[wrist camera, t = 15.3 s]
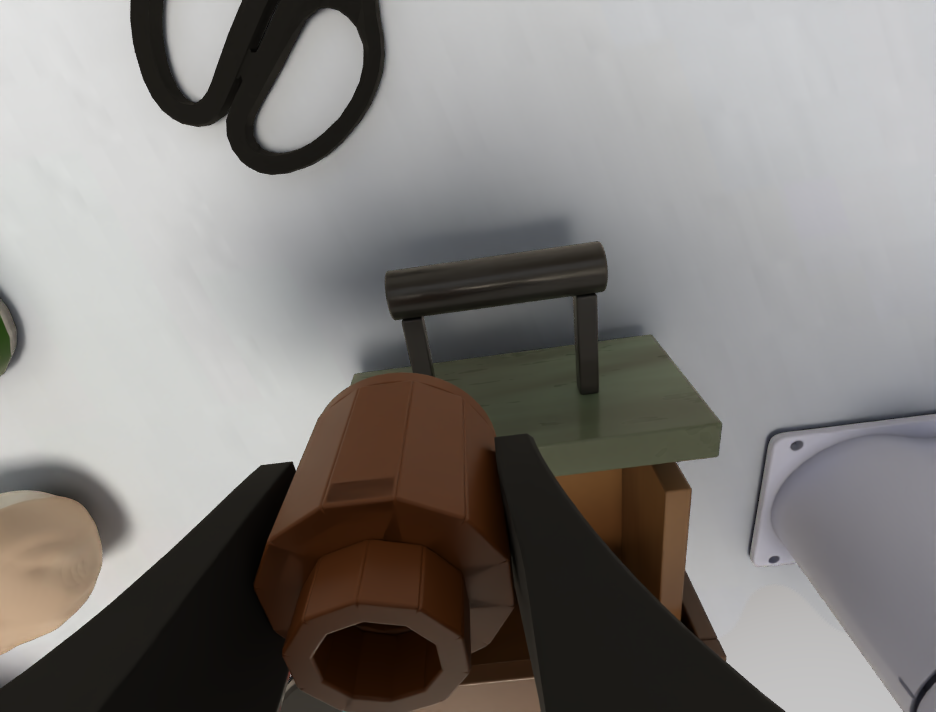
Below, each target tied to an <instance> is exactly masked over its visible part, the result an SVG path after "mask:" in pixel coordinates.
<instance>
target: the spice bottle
mask: <svg viewBox="0 0 936 712" xmlns="http://www.w3.org/2000/svg"><path fill="white" fill-rule="evenodd" d="M494 437H496V433H495V430H494V427H493V425H492V422H491V420H490V419H489V417H488V415H487V413H486V412H485V411H484V410H483V408H482V407H481V406H480V404H478V403H477V402H476V401H475V400H474V399H473V398H472V397H471V396H470V395H469V394H467V393H466V392H465V391H463V390H462V389H460V388H458V387H457V386H455V385H453V384H451V383H449V382H447V381H444V380H442V379H439V378H436V377H432V376H429V375H424V374H418V373H405V372H398V373H387V374H381V375H376V376H373V377H370V378H366V379H364V380H361V381H359V382H357V383H355V384H353V385H351V386H349V387H348V388H346V389H345V390H343V391H342V392H341V393H339V394H338V395H337V396H336V397H335V398H334V399H333V400H332V401H331V402H330V403H329V404H328V405H327V407H326V408H325V410H324V411H323V413H322V414H321V415H320V417H319V418H318V420H317V422H316V425H315V427H314V430H313V432H312V434H311V437H310V439H309V442H308V444H307V446H306V449H305V451H304V454H303V456H302V458H301V461H300V463H299V466H298V468H297V470H296V473H295V475H294V478H293V480H292V482H291V485H290V487H289V490H288V492H287V494H286V497H285V499H284V502H283V504H282V506H281V509H280V511H279V514H278V516H277V518H276V521H275V523H274V526H273V528H272V530H271V533H270V535H269V538H268V540H267V543H266V546H265V549H264V552H263V555H262V558H261V561H260V564H259V567H258V570H257V573H256V577H255V580H254V583H253V586H254V591H255V593H256V595H257V597H258V599H259V601H260V603H261V606H262V608H263V610H264V612H265V614H266V616H267V618H268V620H269V622H270V624H271V626H272V628H273V630H275V632H276V633H277V634H279V635H280V636H282V637H283V638H285V643H284V646H283V649H282V657H283V659H284V661H285V663H286V665H287V667H288V669H289V671H290V673H291V675H292V677H293V679H294V681H295V683H296V686H297V687H298V688H300V690H301V691H303V692H305V693H307V694H309V695H311V696H313V697H315V698H317V699H319V700H320V701H322V702H324V703H326V704H328V705H330V706H332V707H334V708H336V709H338V710H343V711H345V712H411V711H414V710H418V709H421V708H424V707H428V706H431V705H434V704H438V703H441V702H443V700H446V699H447V698H448V697H449V696H450V695H451V694H452V692H453V691H454V690H455V689H456V688H457V687H458V686H459V685H460V683H461V682H462V681H463V680H464V679H465V678H466V677H467V676H468V674H469V673H470V670H471V653H473V652H475V651H477V650H479V649H482V648H484V647H486V646H487V645H488V644H489V643H491V641H492V640H493V638H494V637H495V635H496V634H497V632H498V631H499V630H500V628H501V627H502V625H503V624H504V622H505V621H506V619H507V618H508V616H509V615H510V613H511V612H512V611H513V609H514V607H515V604H516V596H515V587H514V579H513V570H512V562H511V553H510V545H509V538H508V530H507V523H506V515H505V509H504V505H503V501H502V495H501V491H500V484H499V477H498V469H497V462H496V452H495V441H494Z"/></svg>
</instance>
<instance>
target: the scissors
mask: <svg viewBox="0 0 936 712" xmlns="http://www.w3.org/2000/svg"><path fill="white" fill-rule="evenodd" d="M163 1H164V0H131V11H130V21H131V30H132V38H133V45H134V49H135V53H136V57H137V60H138V64H139V67H140V70H141V73H142V77H143V80H144V82H145V84H146V86H147V88H148V90H149V92H150V94H151V96H152V98H153V99H154V100H155V102H156V103H157V104H158V106H159V107H160V108H161V109H162V111H164V112H165V113H166V114H167V115H169V116H170V117H171V118H172V119H174V120H176V121H178V122H180V123H182V124H186V125H191V126H196V127H201V126H207V125H211V124H213V123H215V122H216V121H218V120H219V119H221V118H222V117H224V116H225V115H226V114H227V113H228V111H229V113H228V116H227V119H226V127H227V137H228V140H229V142H230V145H231V147H232V150H233V151H234V152H235V154H236V155H237V156H238V158H239V159H240V161H241V162H243V163H244V164H245V165H247V166H248V167H249V168H251V169H253V170H255V171H257V172H259V173H264V174H270V175H276V174H286V173H291V172H294V171H297V170H300V169H303V168H306V167H308V166H310V165H313V164H315V163H316V162H318V161H319V160H321V159H323V158H324V157H326V156H327V155H329V154H330V153H331V152H332V151H333V150H334V149H336V148H337V147H338V146H339V145H340V144H341V143H342V142H343V141H344V140H345V139H346V138H347V137H348V135H349V134H350V133H351V132H352V131H353V130H354V128H355V127H356V126H357V125H358V124H359V122H360V121H361V120H362V118H363V116H364V115H365V113H366V112H367V110H368V108H369V107H370V105H371V103H372V101H373V98H374V96H375V94H376V91H377V89H378V86H379V83H380V79H381V76H382V73H383V66H384V57H385V49H384V36H383V30H382V25H381V19H380V11H379V3H378V0H280V1H279V0H242V3H241V5H240V7H239V10H238V12H237V14H236V17H235V19H234V21H233V24H232V26H231V29H230V31H229V33H228V36H227V39H226V42H225V45H224V48H223V50H222V53H221V56H220V59H219V62H218V65H217V67H216V70H215V73H214V76H213V79H212V82H211V84H210V87H209V89H208V91H207V93H206V94H205V96H204V97H203V98H202V99H201V100H200V101H198V102H197V103H194V102H190V101H189V100H188V99H186V98H185V97H184V96H183V94H182V93H181V91H180V90H179V89H178V87H177V85H176V83H175V81H174V79H173V77H172V74H171V72H170V68H169V65H168V62H167V57H166V53H165V47H164V40H163V23H162V14H163ZM278 1H279V3H278ZM277 3H278V6H277V8H276V10H275V13H274V15H273V17H272V20H271V22H270V24H269V26H268V28H267V30H266V33H265V35H264V37H263V39H262V41H261V43H260V40H261V38H262V36H263V34H264V31H265V29H266V27H267V25H268V22H269V20H270V18H271V16H272V14H273V11H274V9H275V7H276V5H277ZM320 8H332V9H336V10H339V11H340V12H341V13H343V14H344V15H346V16H347V17H348V18H349V19H350V20H351V21H352V23H353V24H354V25H355V26H356V28H357V30H358V33H359V35H360V38H361V41H362V43H363V49H364V57H363V69H362V73H361V78H360V82H359V84H358V86H357V89H356V91H355V93H354V95H353V97H352V99H351V101H350V102H349V104H348V106H347V107H346V109H345V110H344V112H343V113H342V115H341V116H340V118H339V119H338V120H337V121H336V122H335V123H334V124H333V125H332V126H330V127H329V128H328V129H327V130H326V131H325V132H324V133H323V134H322V135H321V136H319V137H318V138H317V139H316V140H314V141H313V142H312V143H310V144H308V145H306V146H304V147H302V148H300V149H298V150H294V151H291V152H285V153H274V152H269V151H266V150H264V149H262V148H261V147H260V145H259V144H258V143H257V142H256V140H255V138H254V132H253V124H254V120H255V116H256V114H257V112H258V110H259V108H260V106H261V104H262V103H263V101H264V99H265V97H266V95H267V94H268V92H269V90H270V88H271V87H272V85H273V83H274V81H275V79H276V78H277V76H278V74H279V72H280V70H281V69H282V67H283V65H284V63H285V61H286V59H287V57H288V55H289V53H290V51H291V49H292V47H293V45H294V43H295V41H296V39H297V37H298V35H299V33H300V31H301V29H302V27H303V25H304V23H305V21H306V20H307V19H308V18H309V17H310V16H311V15H313V14H314V13H315V12H316V11H317V10H318V9H320ZM259 43H260V45H259ZM258 45H259V48H258V50H257V47H258ZM229 109H230V110H229Z"/></svg>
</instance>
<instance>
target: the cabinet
mask: <svg viewBox="0 0 936 712" xmlns="http://www.w3.org/2000/svg"><path fill="white" fill-rule="evenodd" d="M680 622H682V623H683V624H684V625H685V626H686V627H687V628H688V629H689V630H690V631H691V632H692V633H693V634H694V635H695V636H697V637H698V638H699V639H700V640H701V641H702V642H704V643H705V644H706V645H707V646H708V647H709V648H710V649H712V650H713V651H714V652H715V653H716V654H717V655H719V656H720V657H721V658H722V659H723V660H724V661H726V655H725V653H724V651H723V648H722V646H721V644H720V642H719V640H718V639H717V636H716V634H715V632H714V629H713V627H712V625H711V623H710V621H709V619H708V617H707V615H706V613H705V611H704V608H703V606H702V604H701V602H700V600H699V598H698V596H697V594H696V592H695V590H694V587H693V585H692V583H691V581H690V579H689V577H688V575H687V573H686V571H685V575H684V586H683V598H682V609H681V621H680ZM411 712H541V710H540V704H539V698H538V693H537V688H536V684H535V679H534V674H533V670H532V665H531V660H530V659H525V660H516V661H507V662H497V663H488V664H479V665H471V670H470V673H469V674H468V676H467V677H466V678H465V679H464V680H463V681H462V682H461V683H460V685H459V686H458V687H457V688H456V689H455V690H454V691H453V692H452V694H451V695H450V696H449V697H448V698H447V699H446V700H443V702H441V703H438V704H434V705H431V706H428V707H424V708H421V709H418V710H414V711H411Z"/></svg>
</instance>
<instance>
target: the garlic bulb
mask: <svg viewBox="0 0 936 712" xmlns="http://www.w3.org/2000/svg"><path fill="white" fill-rule="evenodd" d="M101 566H102V546H101V541H100V537H99V533H98V529H97V527H96V524H95V522H94V521H93V519H92V517H91V516H90V514H89V513H88V511H87V510H86V509H85V508H84V506H83V505H82V504H80V503H79V502H77V501H75V500H73V499H70V498H66V497H61V496H56V495H53V494H49V493H45V492H40V491H31V490H20V491H11V492H5V493H0V655H2V654H4V653H6V652H8V651H10V650H11V649H13V648H15V647H16V646H18V645H20V644H23V643H26V642H28V641H31V640H34V639H36V638H38V637H40V636H43V635H45V634H48V633H50V632H52V631H54V630H56V629H57V628H59V627H60V626H61V625H62V624H63V623H65V622H66V621H67V620H68V619H69V618H70V617H71V616H73V615H74V614H75V613H76V612H77V611H78V610H79V609H80V608H81V607H82V605H83V604H84V603H85V602H86V601H87V599H88V598H89V596H90V595H91V593H92V591H93V589H94V586H95V584H96V581H97V578H98V575H99V573H100V570H101Z"/></svg>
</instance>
